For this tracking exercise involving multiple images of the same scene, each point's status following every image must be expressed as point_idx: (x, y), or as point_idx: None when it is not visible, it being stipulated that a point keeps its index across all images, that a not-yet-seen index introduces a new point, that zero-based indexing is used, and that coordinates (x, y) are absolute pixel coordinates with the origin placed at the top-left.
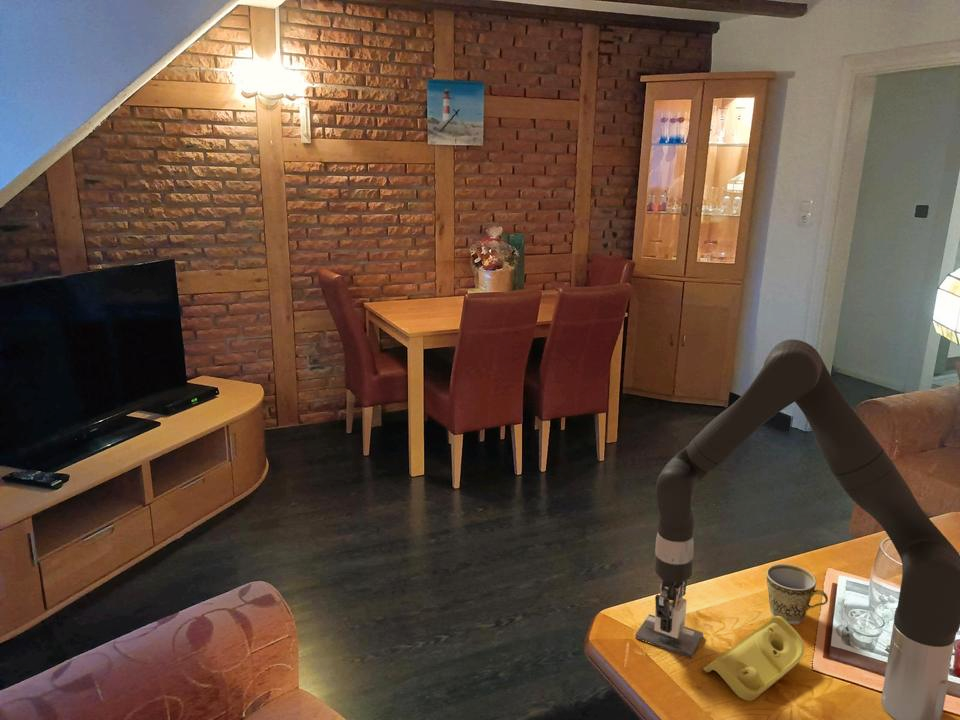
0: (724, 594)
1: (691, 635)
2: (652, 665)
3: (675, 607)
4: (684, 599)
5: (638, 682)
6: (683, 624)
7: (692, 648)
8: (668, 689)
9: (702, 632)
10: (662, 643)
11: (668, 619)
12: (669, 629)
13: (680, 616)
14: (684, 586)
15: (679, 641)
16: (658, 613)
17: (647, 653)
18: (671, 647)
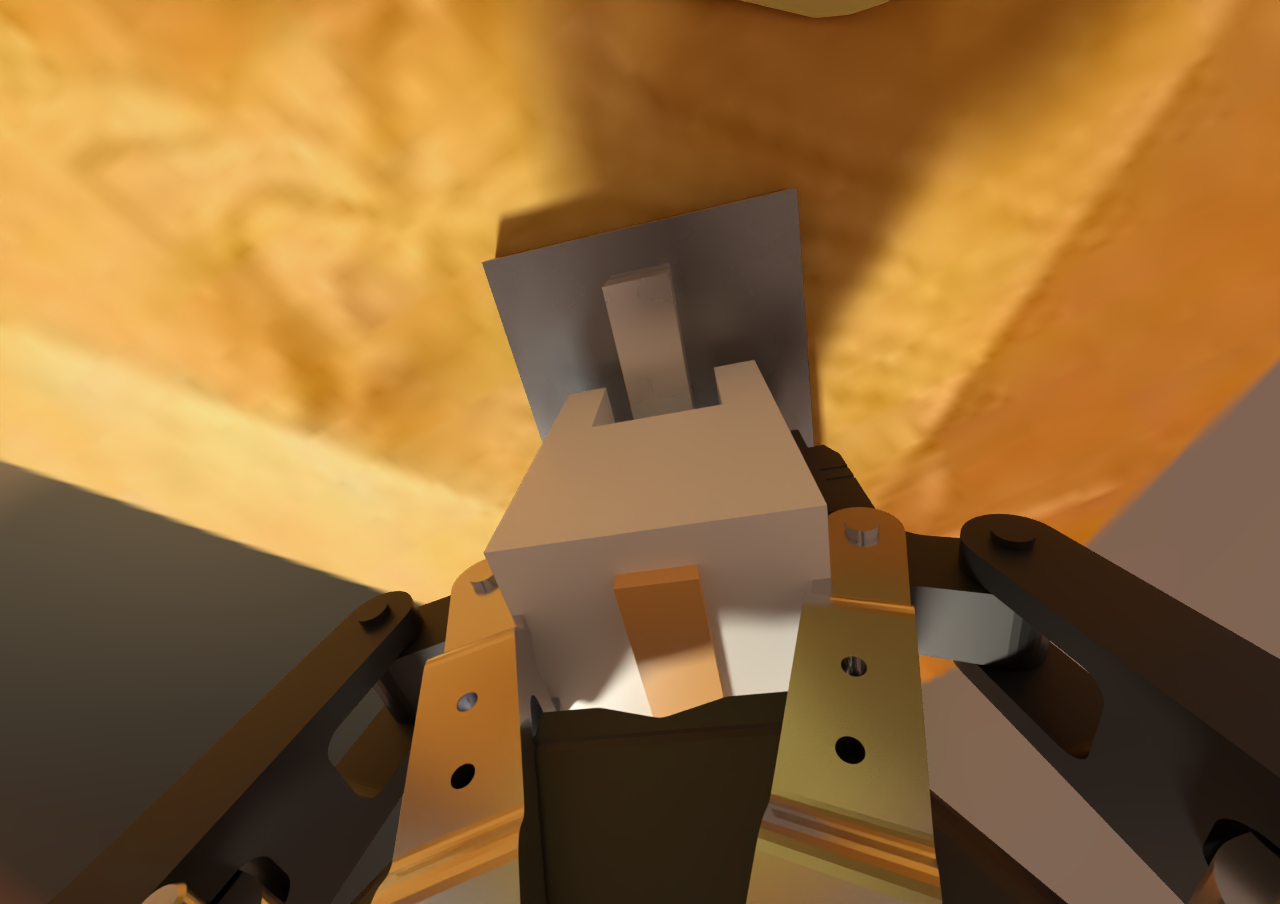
0: (8, 382)
1: (668, 279)
2: (1019, 367)
3: (759, 577)
4: (503, 572)
5: (1254, 347)
6: (600, 402)
7: (720, 223)
8: (1270, 123)
9: (485, 268)
10: (809, 423)
11: (1016, 524)
12: (804, 447)
13: (721, 452)
14: (321, 711)
15: (708, 347)
16: (1080, 672)
17: (911, 448)
18: (807, 357)
